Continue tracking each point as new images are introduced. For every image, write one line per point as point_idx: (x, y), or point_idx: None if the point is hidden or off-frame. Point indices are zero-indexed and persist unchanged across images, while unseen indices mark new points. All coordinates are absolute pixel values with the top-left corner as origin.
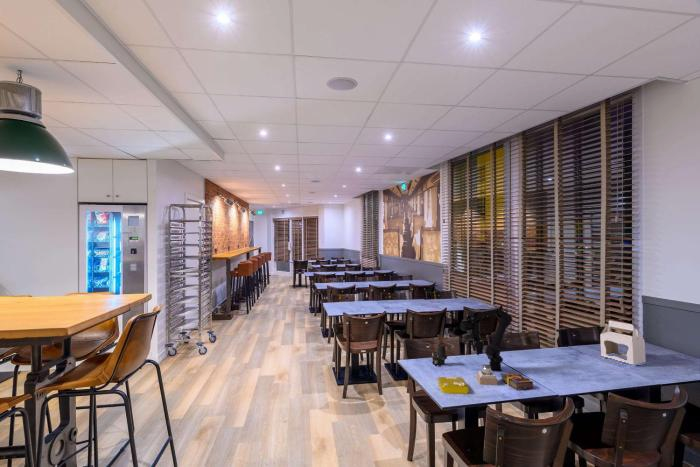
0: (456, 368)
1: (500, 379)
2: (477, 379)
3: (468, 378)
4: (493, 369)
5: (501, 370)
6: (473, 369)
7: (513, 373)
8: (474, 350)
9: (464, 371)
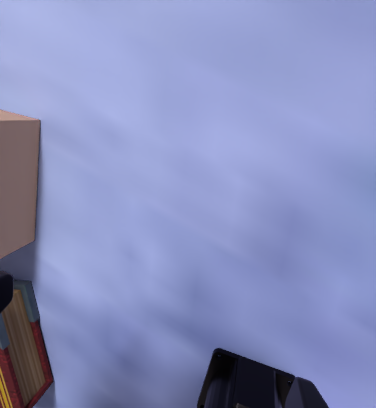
0: (365, 30)
1: (24, 284)
2: (18, 115)
3: (61, 51)
4: (223, 369)
5: (197, 406)
6: (283, 217)
7: (12, 396)
8: (290, 402)
9: (243, 92)
